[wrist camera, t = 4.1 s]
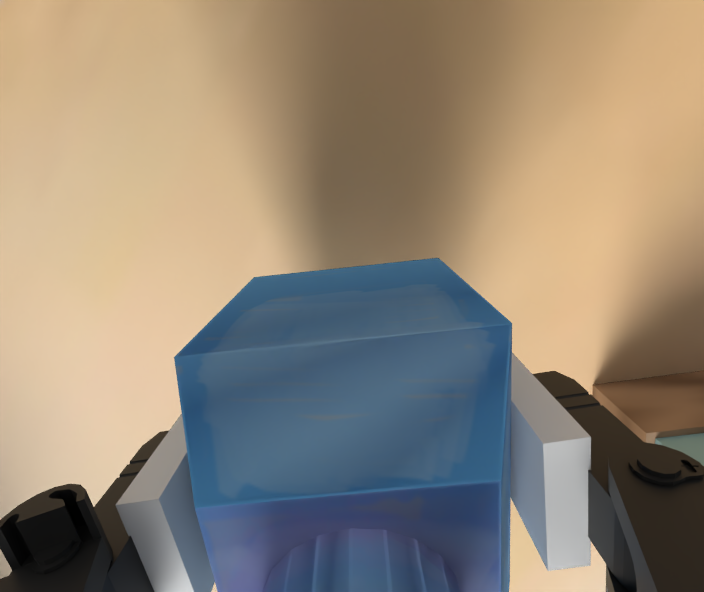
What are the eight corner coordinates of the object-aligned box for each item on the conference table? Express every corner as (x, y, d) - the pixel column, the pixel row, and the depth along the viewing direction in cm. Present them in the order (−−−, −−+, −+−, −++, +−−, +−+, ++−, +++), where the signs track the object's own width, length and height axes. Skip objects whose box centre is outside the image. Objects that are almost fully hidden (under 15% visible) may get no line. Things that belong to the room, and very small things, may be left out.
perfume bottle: (438, 257, 13) (1118, 861, 1) (445, 419, 15) (783, 1269, 3) (254, 277, 13) (-426, 959, 2) (282, 434, 15) (52, 1294, 3)
